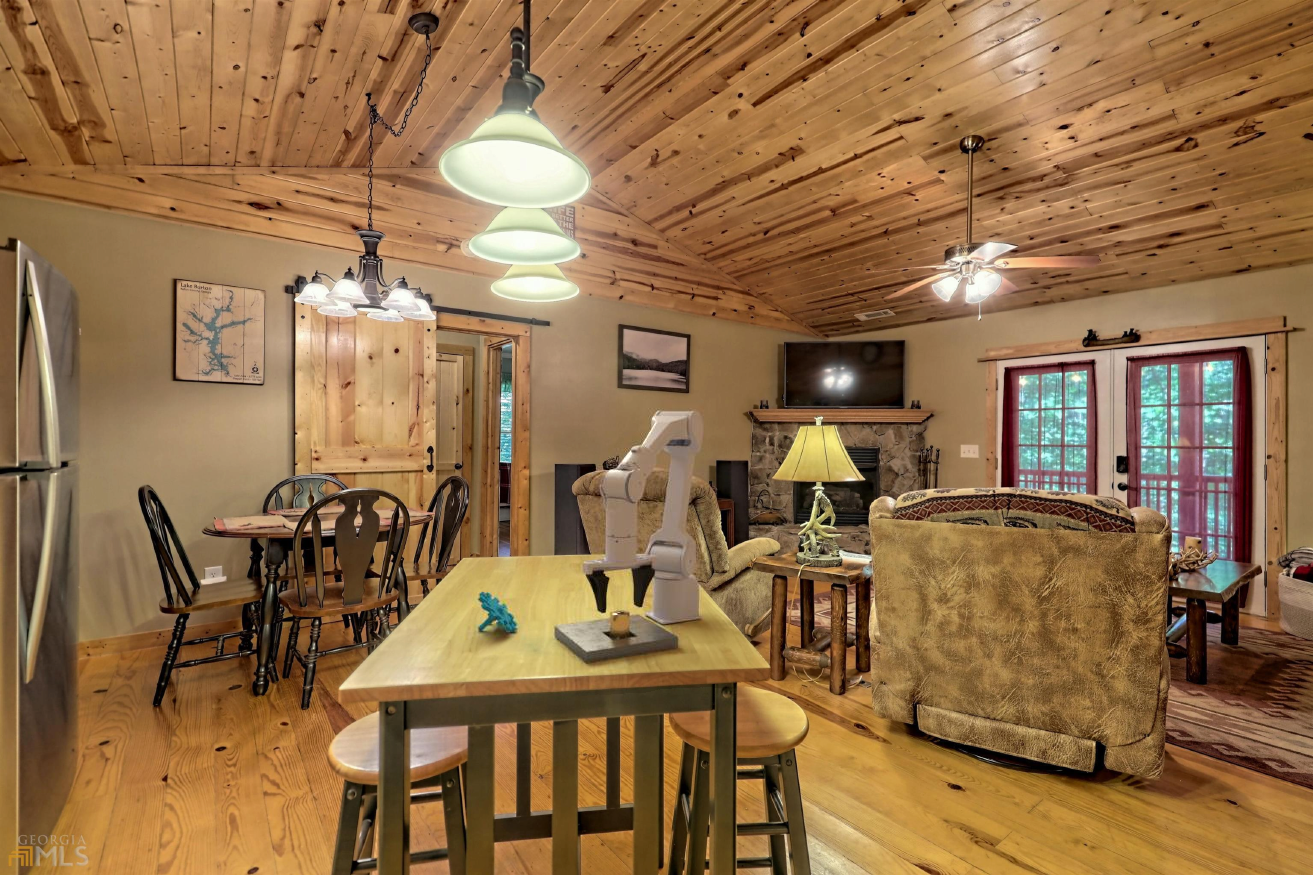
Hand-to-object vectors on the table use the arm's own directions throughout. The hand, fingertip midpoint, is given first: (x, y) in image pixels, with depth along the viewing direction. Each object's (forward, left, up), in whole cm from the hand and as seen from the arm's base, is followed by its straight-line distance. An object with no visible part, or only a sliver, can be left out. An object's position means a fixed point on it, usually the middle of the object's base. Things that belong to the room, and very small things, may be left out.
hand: (620, 608), depth 117 cm
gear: (+18, -18, -7) cm, 26 cm away
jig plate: (0, -2, -7) cm, 7 cm away
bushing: (0, 0, -7) cm, 7 cm away
